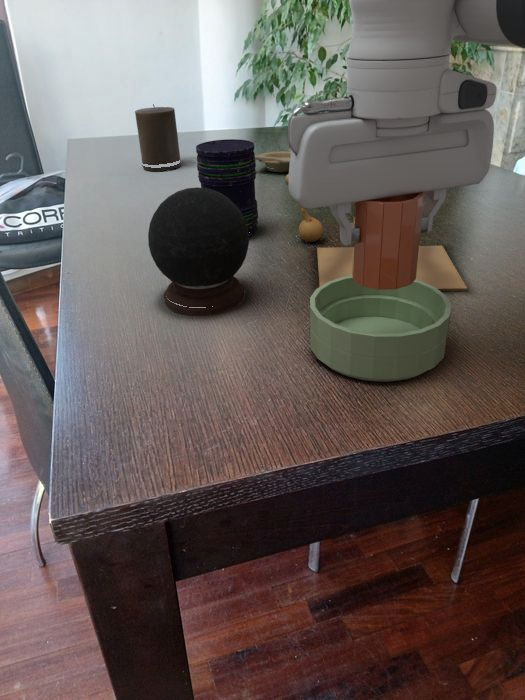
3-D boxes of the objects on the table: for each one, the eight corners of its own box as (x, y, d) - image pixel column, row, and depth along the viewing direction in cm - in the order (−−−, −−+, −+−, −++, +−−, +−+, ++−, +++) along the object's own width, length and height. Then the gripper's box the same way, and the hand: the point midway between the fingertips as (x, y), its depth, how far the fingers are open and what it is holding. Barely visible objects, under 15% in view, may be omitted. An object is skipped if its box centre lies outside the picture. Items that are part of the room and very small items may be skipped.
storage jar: (270, 231, 101) (267, 143, 93) (229, 246, 95) (222, 154, 88) (233, 219, 107) (227, 136, 100) (192, 233, 102) (182, 146, 94)
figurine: (321, 250, 92) (322, 175, 86) (284, 250, 93) (283, 176, 87) (323, 232, 99) (324, 162, 93) (288, 232, 100) (287, 163, 94)
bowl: (429, 316, 72) (435, 272, 69) (458, 385, 59) (466, 335, 56) (309, 317, 73) (309, 274, 70) (310, 385, 60) (311, 336, 57)
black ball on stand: (137, 300, 79) (119, 193, 71) (206, 270, 87) (197, 170, 79) (202, 329, 71) (189, 212, 64) (271, 292, 80) (267, 185, 72)
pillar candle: (164, 173, 140) (156, 107, 132) (135, 169, 144) (125, 106, 137) (189, 164, 147) (182, 101, 139) (160, 161, 151) (152, 100, 144)
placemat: (442, 247, 91) (442, 245, 91) (466, 290, 78) (467, 288, 77) (317, 249, 93) (317, 247, 92) (319, 292, 79) (319, 289, 79)
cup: (409, 263, 64) (416, 182, 59) (420, 289, 58) (429, 201, 53) (350, 265, 64) (352, 185, 59) (355, 290, 59) (358, 204, 54)
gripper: (299, 107, 47) (302, 264, 54) (513, 85, 51) (489, 232, 58) (276, 98, 52) (281, 242, 59) (471, 78, 56) (454, 214, 64)
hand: (386, 237), depth 59 cm, fingers closed on cup, 7 cm apart
